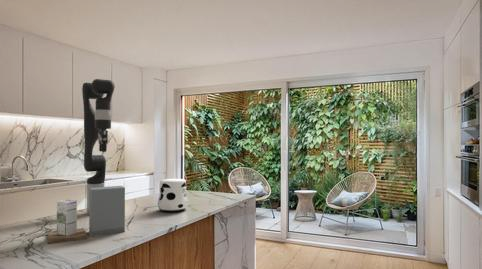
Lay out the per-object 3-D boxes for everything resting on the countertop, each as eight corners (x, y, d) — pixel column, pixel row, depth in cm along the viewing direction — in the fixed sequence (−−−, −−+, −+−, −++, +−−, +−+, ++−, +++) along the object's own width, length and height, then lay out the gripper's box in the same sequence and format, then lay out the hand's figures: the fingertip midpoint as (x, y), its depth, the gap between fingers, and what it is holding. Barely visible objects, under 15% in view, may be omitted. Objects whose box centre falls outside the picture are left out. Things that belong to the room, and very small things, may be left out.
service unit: (89, 231, 150) (89, 187, 151) (121, 227, 158) (121, 185, 158) (91, 236, 143) (91, 190, 143) (124, 231, 150) (124, 187, 150)
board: (48, 235, 145) (48, 232, 145) (83, 230, 152) (83, 228, 152) (48, 243, 132) (48, 240, 132) (86, 238, 139) (86, 235, 139)
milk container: (193, 209, 199) (193, 179, 200) (173, 214, 185) (173, 182, 185) (172, 206, 208) (172, 178, 209) (151, 211, 194) (151, 180, 194)
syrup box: (77, 232, 144) (77, 199, 144) (65, 236, 138) (66, 201, 139) (67, 231, 146) (68, 198, 146) (55, 235, 140) (56, 201, 141)
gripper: (113, 118, 161) (113, 151, 160) (108, 120, 173) (108, 151, 173) (96, 118, 157) (96, 152, 157) (93, 119, 169) (93, 151, 169)
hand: (102, 151), depth 165 cm, fingers open, 8 cm apart
